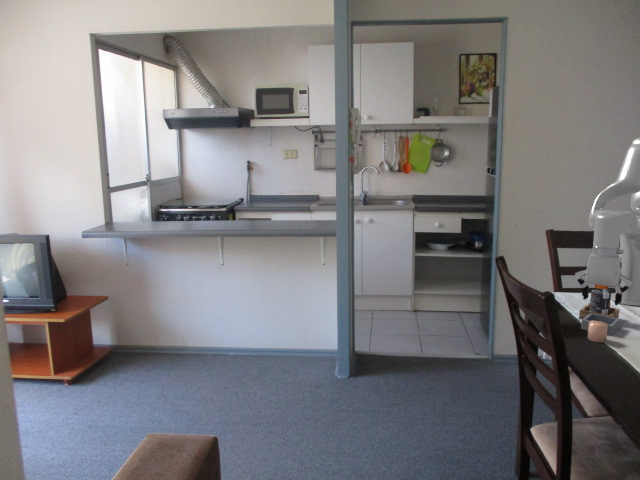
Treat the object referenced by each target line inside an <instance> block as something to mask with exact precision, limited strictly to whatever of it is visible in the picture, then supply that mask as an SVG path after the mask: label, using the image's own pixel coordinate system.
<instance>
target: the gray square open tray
mask: <svg viewBox="0 0 640 480" xmlns="http://www.w3.org/2000/svg"><path fill="white" fill-rule="evenodd" d="M590 321H601V322H605V323H607V324H608V328H607V336H612V335H614V334H615V332H616V331H618V329H619V328H620V321H621V318H613V317H608V316H603V315H598V314H593V313H590V314H588V315H587V316H586V317H585V318H583V319H582V320H581V322H580V323H581V324H580V325H581V326H580V329H581V330H585V331H588V329H589V322H590Z"/></svg>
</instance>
